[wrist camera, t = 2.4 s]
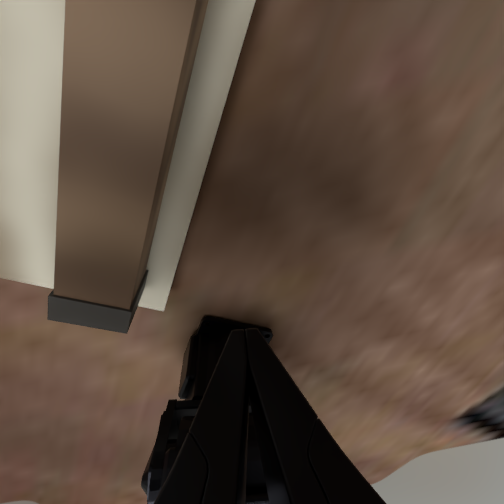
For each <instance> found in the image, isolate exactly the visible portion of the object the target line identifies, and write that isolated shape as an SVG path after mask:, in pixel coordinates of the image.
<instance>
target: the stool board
mask: <svg viewBox="0 0 504 504" xmlns="http://www.w3.org/2000/svg"><path fill="white" fill-rule="evenodd" d="M255 1H256V0H209V1H208V5H207V9H206V14H205V18H204V22H203V27H202V31H201V35H200V40H199V44H198V48H197V52H196V57H195V61H194V65H193V70H192V74H191V78H190V83H189V87H188V91H187V95H186V100H185V104H184V108H183V113H182V117H181V121H180V126H179V130H178V134H177V138H176V143H175V147H174V151H173V156H172V160H171V164H170V169H169V173H168V177H167V181H166V186H165V190H164V194H163V199H162V203H161V207H160V212H159V216H158V220H157V224H156V229H155V233H154V237H153V242H152V246H151V250H150V255H149V259H148V263H147V267H146V270H149V271H148V275H147V279H146V284H145V288H144V291H143V293H142V296H141V299H140V301H139V304H138V306H140V307H145V308H150V309H155V310H160V311H164V309H165V305H166V302H167V298H168V295H169V292H170V288H171V285H172V281H173V278H174V275H175V271H176V268H177V265H178V261H179V258H180V254H181V251H182V248H183V244H184V241H185V238H186V234H187V231H188V227H189V224H190V221H191V217H192V214H193V210H194V207H195V204H196V200H197V197H198V194H199V190H200V187H201V183H202V180H203V177H204V173H205V170H206V166H207V163H208V160H209V156H210V153H211V150H212V146H213V143H214V139H215V136H216V133H217V129H218V126H219V123H220V119H221V116H222V112H223V109H224V106H225V102H226V99H227V95H228V92H229V89H230V85H231V82H232V79H233V75H234V72H235V68H236V65H237V62H238V58H239V55H240V51H241V48H242V45H243V41H244V38H245V35H246V31H247V28H248V24H249V21H250V18H251V14H252V11H253V8H254V4H255ZM64 22H65V0H0V278H3V279H8V280H13V281H18V282H23V283H28V284H33V285H37V286H42V287H47V288H52V289H54V269H55V245H56V220H57V195H58V170H59V146H60V121H61V96H62V71H63V46H64Z"/></svg>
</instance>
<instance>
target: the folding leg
mask: <svg viewBox="0 0 504 504" xmlns="http://www.w3.org/2000/svg"><path fill="white" fill-rule="evenodd" d="M208 1H209V0H65V22H64V46H63V71H62V96H61V121H60V146H59V170H58V195H57V220H56V245H55V269H54V290H53V291H52V292H51V293H50V294H49V296H48V320H53V321H59V322H64V323H70V324H76V325H81V326H87V327H92V328H98V329H104V330H109V331H115V332H121V333H126V334H127V332H128V329H129V327H130V324H131V322H132V319H133V317H134V314H135V311H136V309H137V306H138V304H139V301H140V299H141V296H142V293H143V291H144V288H145V284H146V279H147V275H148V271H149V270H146V267H147V263H148V259H149V255H150V250H151V246H152V242H153V237H154V233H155V229H156V224H157V220H158V216H159V212H160V207H161V203H162V199H163V194H164V190H165V186H166V181H167V177H168V173H169V169H170V164H171V160H172V156H173V151H174V147H175V143H176V138H177V134H178V130H179V126H180V121H181V117H182V113H183V108H184V104H185V100H186V95H187V91H188V87H189V83H190V78H191V74H192V70H193V65H194V61H195V57H196V52H197V48H198V44H199V40H200V35H201V31H202V27H203V22H204V18H205V14H206V9H207V5H208Z"/></svg>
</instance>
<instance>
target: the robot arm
mask: <svg viewBox="0 0 504 504" xmlns="http://www.w3.org/2000/svg"><path fill="white" fill-rule="evenodd" d="M206 322H209V323H206ZM266 334H267V335H266ZM272 336H273V334H272V330H271V329H267V328H263V327H258V326H253V325H248V324H243V323H239V322H234V321H229V320H224V319H219V318H215V317H210V316H206V317H204V318H202V320H201V323H200V325H199V328H198V331H197V333H196V335H193V336H191V337H190V340H189V343H188V345H187V348H186V351H185V353H184V358H183V365H182V372H181V379H180V386H179V393H178V396H179V397H180V399H185V400H183V401H177V399H175V400H169V401H168V405H167V409H166V411H164V413H163V415H161V420H160V425H159V431H158V435H157V439H156V443H155V446H154V448H153V451H152V453H151V456H150V458H149V461H148V463H147V466H146V468H145V471H144V473H143V476H142V482H141V487H142V489H143V490H144V492H145V493H146V494H147V504H386V503H385V502H384V500H383V499H382V498H381V497H380V496H379V495H378V493H377V492H376V491H375V490H374V489H373V487H372V486H371V485H370V484H369V483H368V481H367V480H366V479H365V478H364V477H363V476H362V474H361V473H360V472H359V471H358V470H357V468H356V467H355V466H354V465H353V463H352V462H351V461H350V460H349V458H348V457H347V456H346V455H345V453H344V452H343V451H342V450H341V448H340V447H339V445H338V444H337V443H336V441H335V440H334V439H333V437H332V436H331V434H330V433H329V432H328V430H327V429H326V427H325V426H324V424H323V423H322V422H321V420H320V419H317V418H318V416H317V414H316V413H315V412H314V410H313V409H312V407H311V406H310V404H309V403H308V401H307V400H306V398H305V397H304V395H303V394H302V393H301V391H300V390H299V388H298V387H297V385H296V384H295V382H294V381H293V379H292V378H291V377H290V375H289V374H288V372H287V371H286V369H285V368H284V366H283V365H282V363H281V362H280V360H279V359H278V358H277V356H276V355H275V353H274V352H273V350H272V349H271V347H270V346H269V342H270V340H271V338H272Z"/></svg>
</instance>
